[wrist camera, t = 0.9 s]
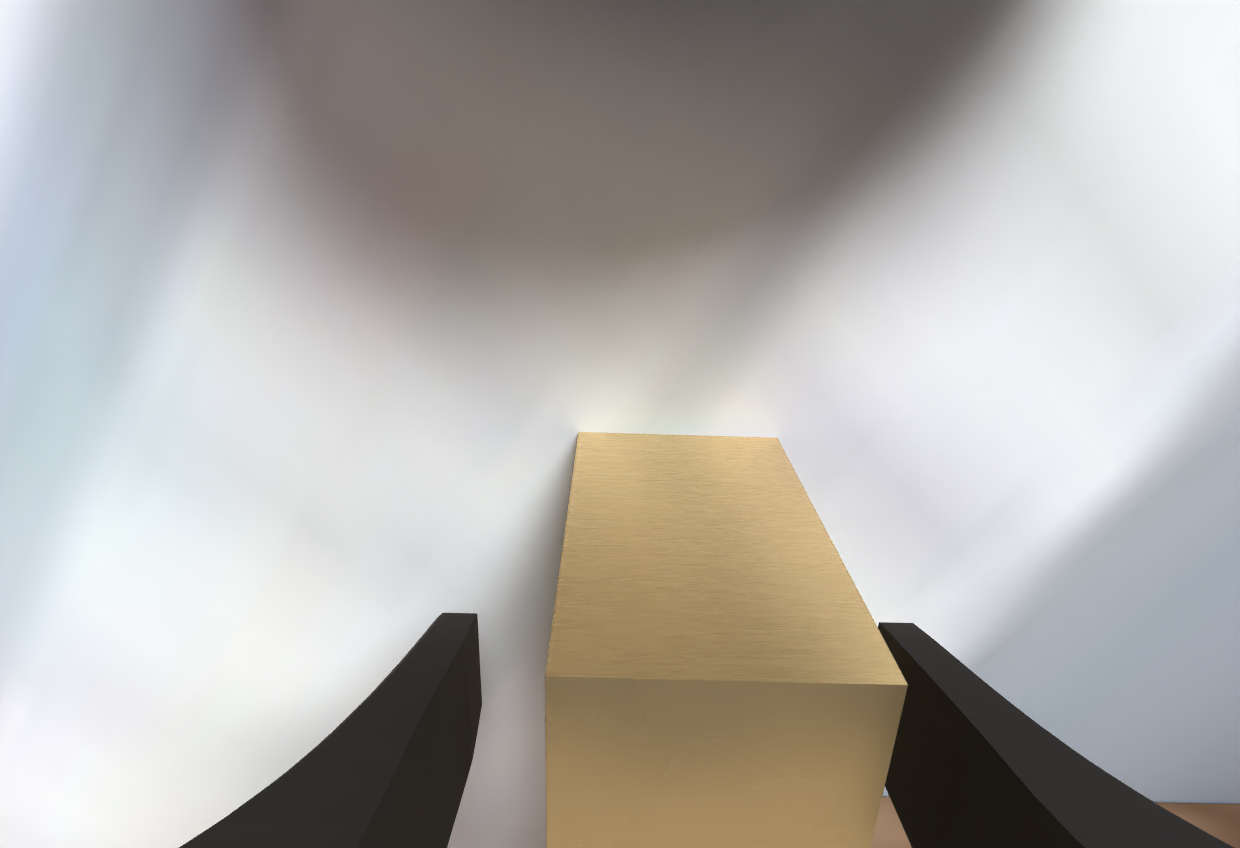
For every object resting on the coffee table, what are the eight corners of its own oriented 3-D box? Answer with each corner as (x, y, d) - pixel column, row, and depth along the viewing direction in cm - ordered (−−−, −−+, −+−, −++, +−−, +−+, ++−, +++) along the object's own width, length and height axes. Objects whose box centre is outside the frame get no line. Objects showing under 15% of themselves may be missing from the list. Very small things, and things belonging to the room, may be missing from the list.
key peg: (777, 436, 14) (908, 684, 8) (746, 687, 17) (826, 1036, 10) (578, 431, 14) (544, 675, 8) (576, 683, 17) (548, 1031, 10)
